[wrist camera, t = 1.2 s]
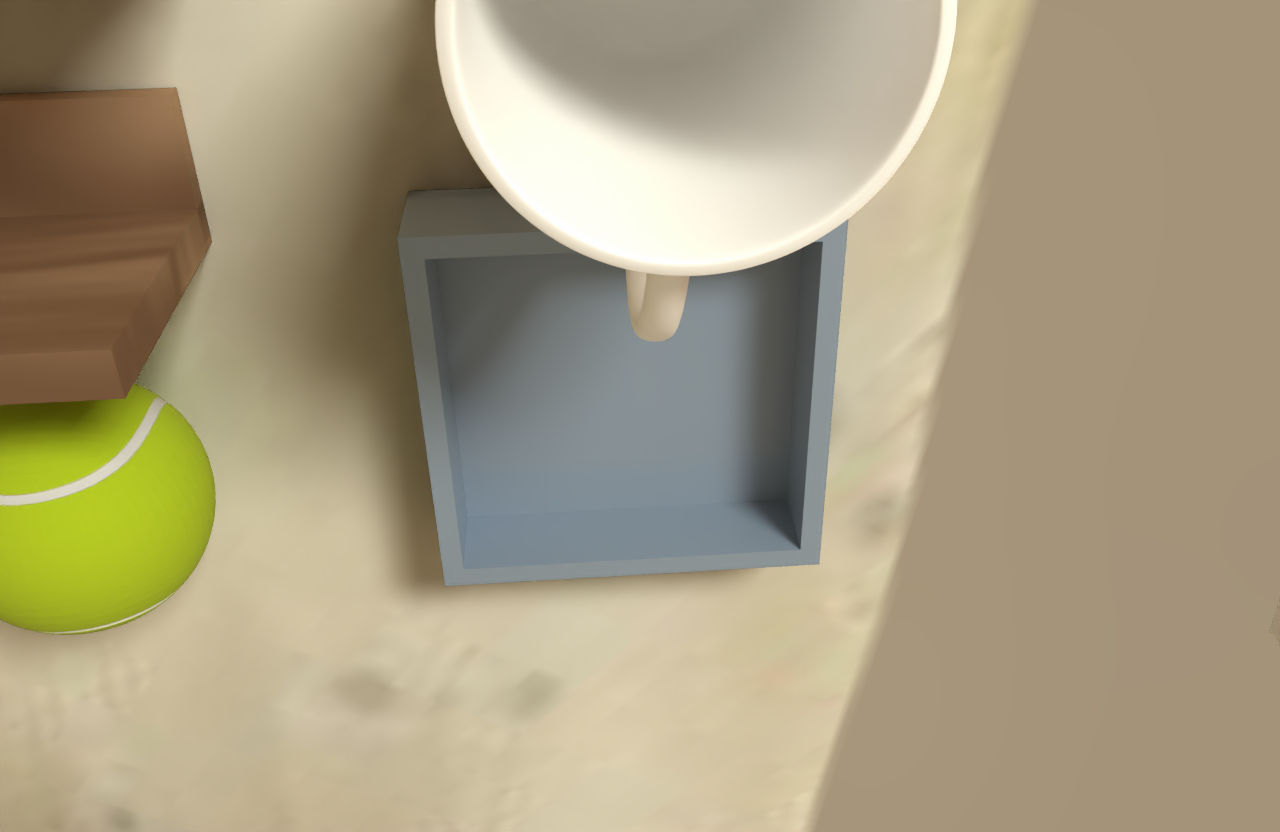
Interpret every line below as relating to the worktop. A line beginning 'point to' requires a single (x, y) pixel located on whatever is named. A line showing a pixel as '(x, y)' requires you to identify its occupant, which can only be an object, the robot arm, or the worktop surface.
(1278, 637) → the robot arm
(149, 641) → the worktop surface
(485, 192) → the dish
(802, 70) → the mug
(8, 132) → the bookend
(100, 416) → the tennis ball
